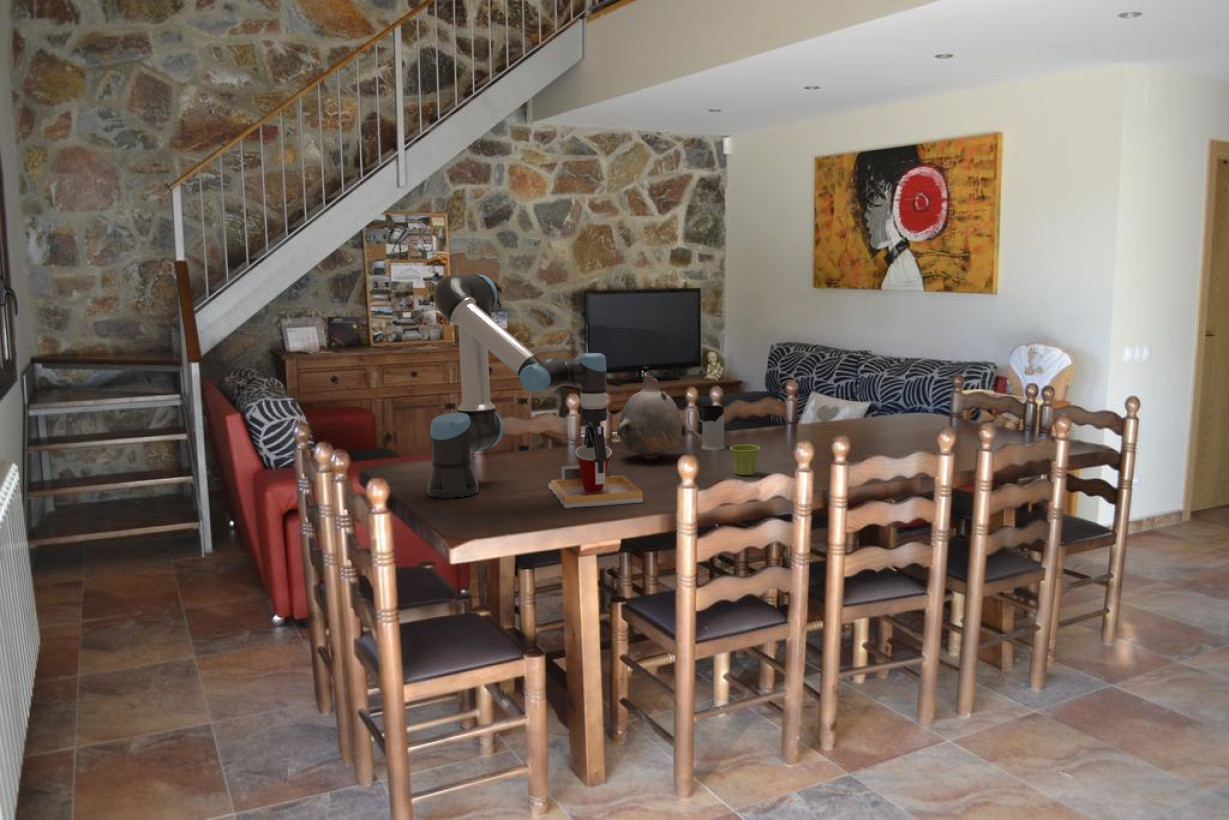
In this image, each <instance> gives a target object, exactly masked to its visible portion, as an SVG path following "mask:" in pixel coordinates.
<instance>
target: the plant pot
mask: <svg viewBox="0 0 1229 820" xmlns="http://www.w3.org/2000/svg"><path fill="white" fill-rule="evenodd" d="M729 449H730V451H731V456H732V459H733V461H732V462H733V468H734V474H735V473H736V474H737V475H738V474H739V475H738V476H740V475H749V476H753V474H754V475H755V474H756V472H755V471H756V464H757V458H758V454H759V450H760V449H761V448H760V446H758V445H753V444H737V445H732V446H730V447H729ZM736 474H735V475H736Z"/></svg>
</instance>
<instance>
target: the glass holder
mask: <svg viewBox="0 0 1229 820" xmlns="http://www.w3.org/2000/svg"><path fill="white" fill-rule="evenodd" d="M724 410H725V409H724V406H722V405H705V406H702V420H701V418H700V413H699V411H698V410H697V409H695V408H693V409H690V410H689V411H688V412H687V422H688V424H689V427H690V430H691V431H692V432H693V433H694V434H695V435H696V436H697V437H699V438H700V440H701V442H702V445H701V450H706V451H720V450H721V449H722V450H726V446H725V412H724ZM692 411H694V412H696V413H697V417H698V418H697V420H698V421H699V422H701V423H702V430H701V431H702V436H701V435H700V434H698V432H697V431H695V429H694V428H693V427H692V425H691V422H690V412H692Z"/></svg>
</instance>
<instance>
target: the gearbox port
mask: <svg viewBox="0 0 1229 820" xmlns="http://www.w3.org/2000/svg"><path fill="white" fill-rule="evenodd" d="M610 470H611V467H610V465H609V464H608V466H607V471H606V477H605V484H604V486H603V489H602V490H601V491H597V492H590V491H586V490H585V489H584V487H583V483H582V478H581V472H580V466H579V464H578V465H567V466H566V465H565V466H561V479H551V481H550V482H549V483H548V489H549V490H550V489H551V490H552V491H553V492H552V491H551V490H550V491H551V492H552V493H553V495H554V494H555V495H556V496H555V495H554V496H555V497H556V499H559V500H560V501H559V500H558V501H559V502H560V503H561V505H562V504H563V505H562V506H563V507H564V508H565V509H573V507H575V508H584V507H585V508H588V507H599V506H613V505H614V506H615V505H624V504H639V503H640V504H641V503H644V501H643V500H644V498H643V490H641V489H640V488H639V487H638V486H637V485H636V484H634V483H633V482H632V481H631V480H629V479H628V478H627V476H625V475H623V474H622V475H611V471H610ZM587 506H588V507H587Z"/></svg>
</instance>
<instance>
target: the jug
mask: <svg viewBox="0 0 1229 820" xmlns="http://www.w3.org/2000/svg"><path fill="white" fill-rule="evenodd" d="M642 381H643V382H642V388H641V390H640V391H639V392H636V393H633V395H631V396H630V397H629V398H628V400H627V401H626V403H625V405H624V407H623V409H622V412H621V416H620V422H619V424H618V425H617V429H616V434H617V436H618V437H619V440H620V441H619V442H620V445H621V447H622V448H623V449H625V450H627V451H630V452H632V453H635V454H638V455H641V456H642V457H643V458H645V459H647V460H653V459H656V458H658V457H659V456H661V455H662V454H666V453H668V452H670V451H674V450H677V449H678V448H679V447H680V446H681V444H682V443H681V442H682V437H683V430H682V429H683V420H682V418H681V415H680V410H679V408H678V406H677V404H676V402H675V401H674V399H673V398H672V397H671V396H670V395H669V394H667V392H666V391H661V390H660V388H659V387H660V386H659V382H658V380H657V379H656V378H655V377H654V376H653V375H652V374H650V372H645V373H644V375H643V380H642Z"/></svg>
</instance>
